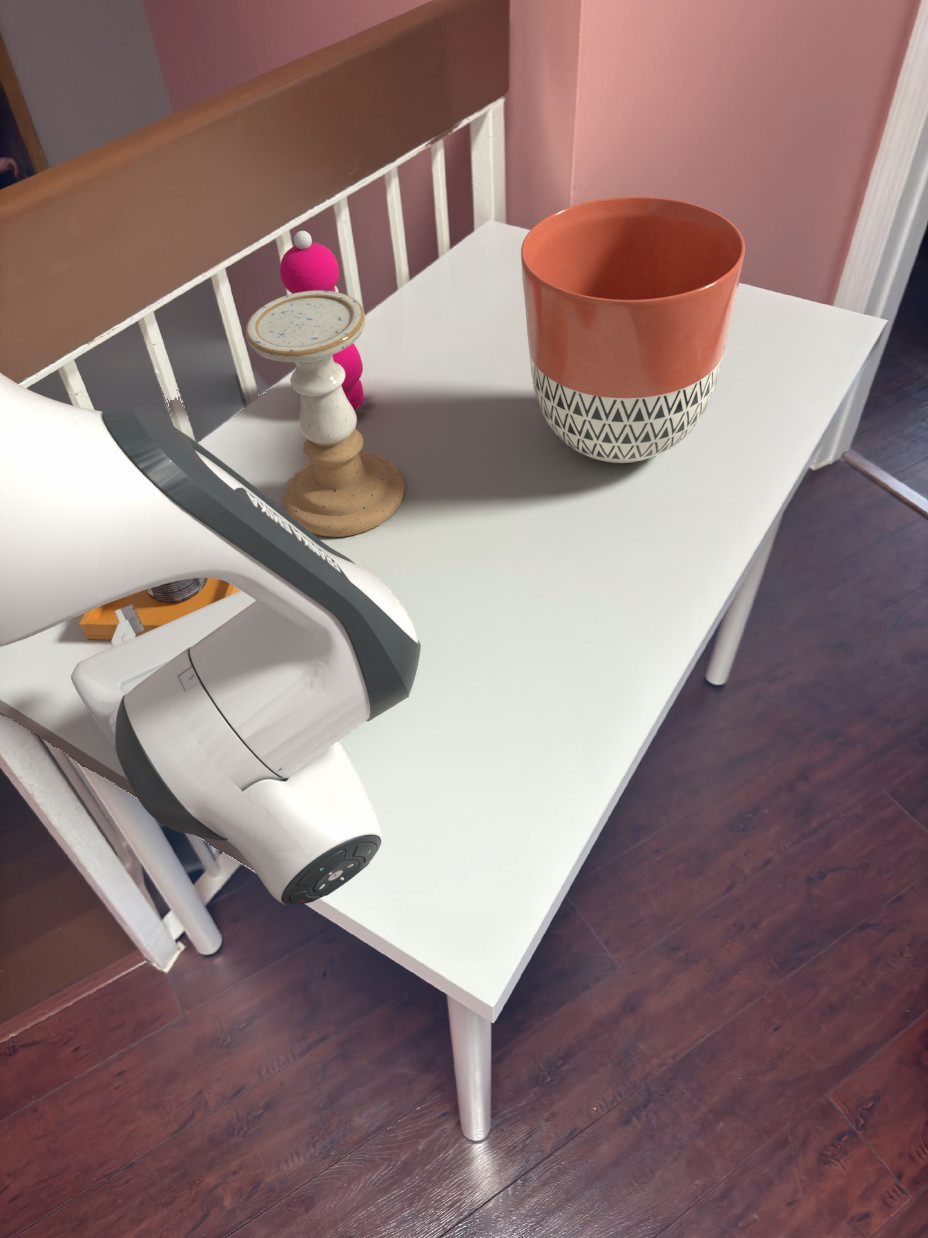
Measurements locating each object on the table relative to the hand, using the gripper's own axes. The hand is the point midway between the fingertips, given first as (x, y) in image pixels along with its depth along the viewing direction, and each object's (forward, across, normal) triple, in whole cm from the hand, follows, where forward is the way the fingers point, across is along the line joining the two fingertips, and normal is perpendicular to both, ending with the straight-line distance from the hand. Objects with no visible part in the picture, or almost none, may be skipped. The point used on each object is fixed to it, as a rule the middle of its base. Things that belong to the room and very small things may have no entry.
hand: (182, 588), depth 74 cm
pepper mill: (+29, -26, +9) cm, 40 cm away
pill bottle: (+10, 0, +8) cm, 13 cm away
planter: (+4, -47, +9) cm, 48 cm away
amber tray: (+10, 0, +9) cm, 14 cm away
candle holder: (+13, -19, +9) cm, 25 cm away
